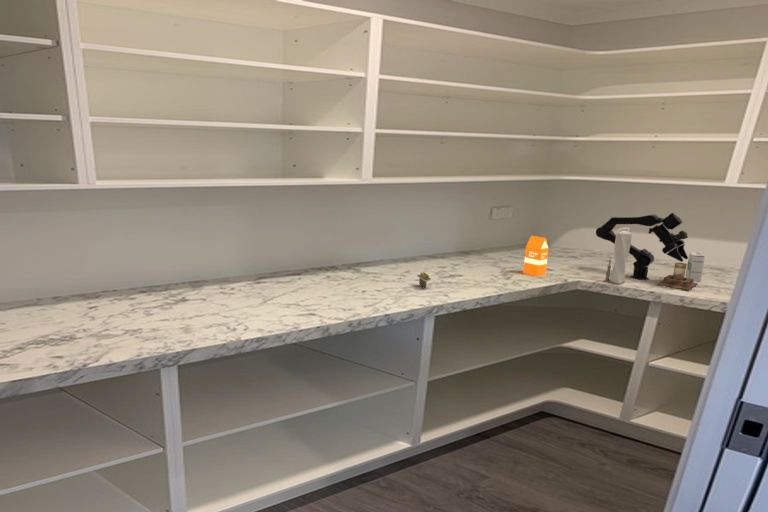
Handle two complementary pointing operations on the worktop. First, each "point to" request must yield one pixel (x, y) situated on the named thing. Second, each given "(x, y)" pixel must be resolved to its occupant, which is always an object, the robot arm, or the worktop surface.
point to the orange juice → (536, 256)
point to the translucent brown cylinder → (679, 271)
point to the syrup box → (695, 266)
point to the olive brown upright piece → (423, 279)
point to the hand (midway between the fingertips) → (684, 260)
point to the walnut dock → (677, 283)
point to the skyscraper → (619, 257)
